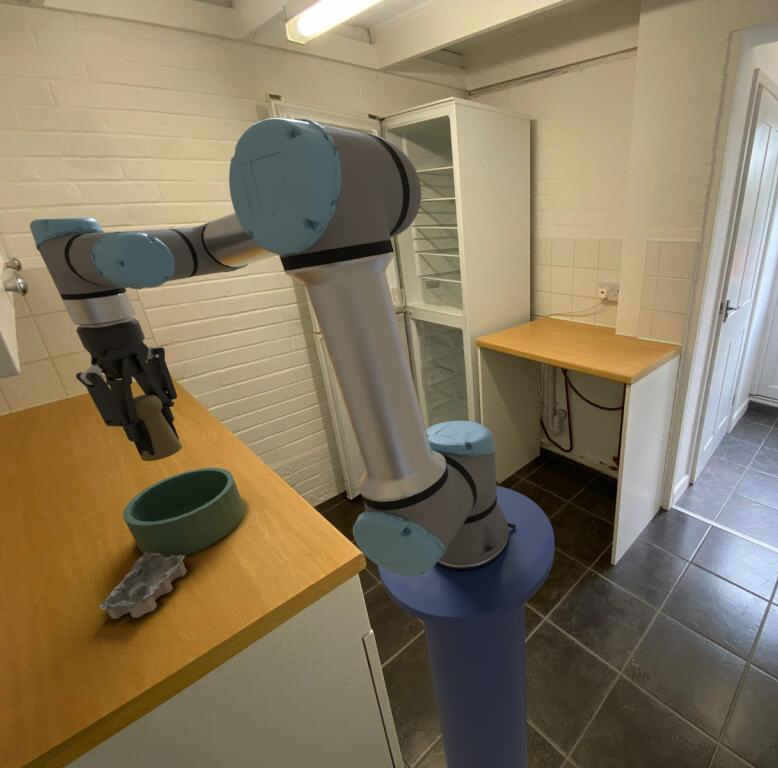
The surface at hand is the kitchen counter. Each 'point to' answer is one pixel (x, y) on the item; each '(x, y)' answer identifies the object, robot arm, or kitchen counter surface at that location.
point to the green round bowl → (185, 512)
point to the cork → (156, 428)
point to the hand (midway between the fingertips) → (160, 446)
